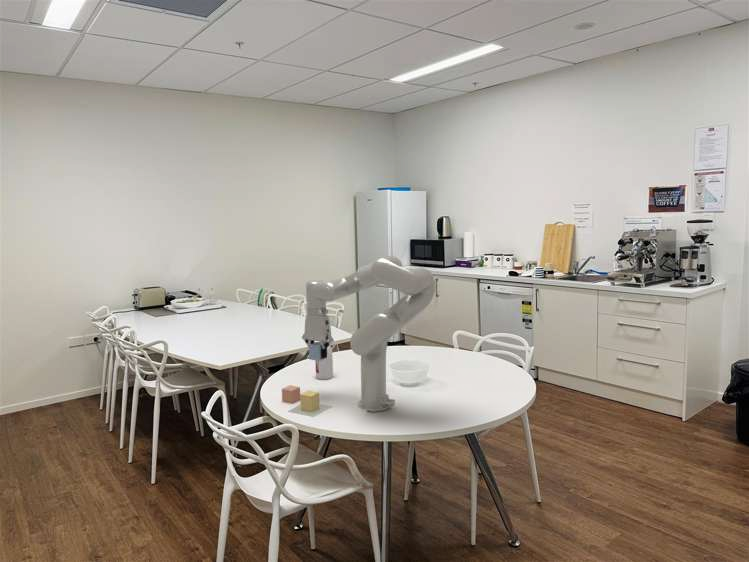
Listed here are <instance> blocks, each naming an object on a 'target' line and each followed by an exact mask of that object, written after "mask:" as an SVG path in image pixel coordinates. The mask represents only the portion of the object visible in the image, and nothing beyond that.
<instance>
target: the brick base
mask: <svg viewBox="0 0 749 562" xmlns="http://www.w3.org/2000/svg"><path fill="white" fill-rule="evenodd" d="M299 401H300V405H301V410H304V411H309V412H313V411H315V410H317V409H318V408H320V406H319V404H320V392H319V391H312V390H306V391H305V392H302V393H300V400H299Z"/></svg>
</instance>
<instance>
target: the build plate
mask: <svg viewBox="0 0 749 562" xmlns="http://www.w3.org/2000/svg"><path fill="white" fill-rule="evenodd" d="M319 406H320V408H318V409H317V410H315V411H313V412H309V411H304V410H301V404H300V405H297V406H296V407H292V408H291V409H290V410H289V409H288V410H287V412H289V413H292V414H298V415H302V416H308V417H312V418H315V417H317V416H319V415H320V414H322V413H323V412H326V411H328V409H331V408H332V407H333V406H332V405H327V404H321V403H319Z"/></svg>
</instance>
